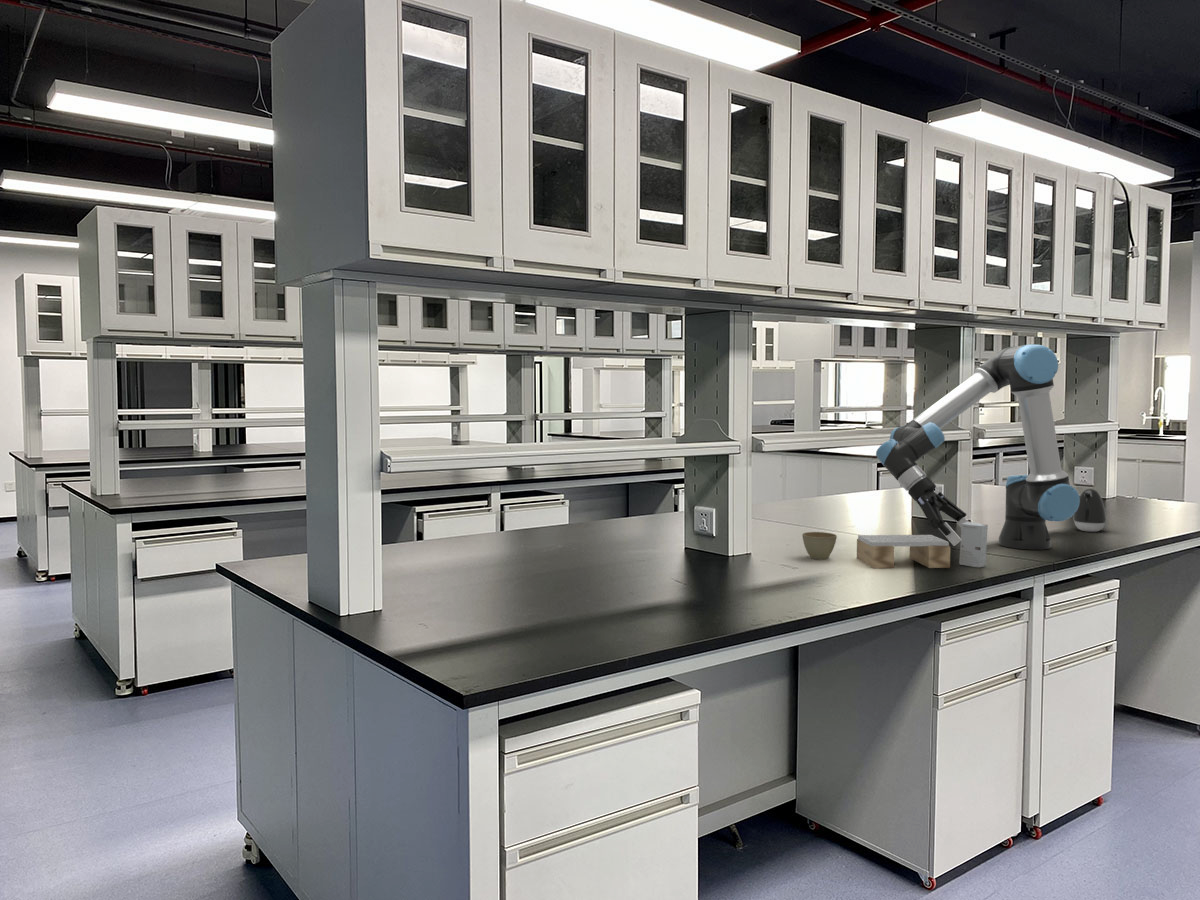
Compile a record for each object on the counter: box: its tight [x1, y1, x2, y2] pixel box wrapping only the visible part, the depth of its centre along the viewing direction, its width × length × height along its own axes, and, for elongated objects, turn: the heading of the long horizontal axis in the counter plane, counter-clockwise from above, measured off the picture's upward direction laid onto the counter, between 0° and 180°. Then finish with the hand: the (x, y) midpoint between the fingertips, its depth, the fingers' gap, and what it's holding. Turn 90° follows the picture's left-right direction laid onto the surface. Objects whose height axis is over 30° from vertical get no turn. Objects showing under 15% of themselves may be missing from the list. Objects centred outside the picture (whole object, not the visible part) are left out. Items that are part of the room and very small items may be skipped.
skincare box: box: [958, 521, 989, 568], centre depth 237 cm, size 6×4×12 cm
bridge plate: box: [857, 534, 950, 547], centre depth 241 cm, size 22×12×1 cm, turn 91°
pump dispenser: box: [1072, 488, 1107, 533], centre depth 298 cm, size 10×10×15 cm
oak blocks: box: [856, 538, 951, 569], centre depth 241 cm, size 22×14×6 cm, turn 91°
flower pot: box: [802, 531, 838, 561], centre depth 249 cm, size 10×10×7 cm
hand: (967, 540), depth 238 cm, fingers open, 13 cm apart
